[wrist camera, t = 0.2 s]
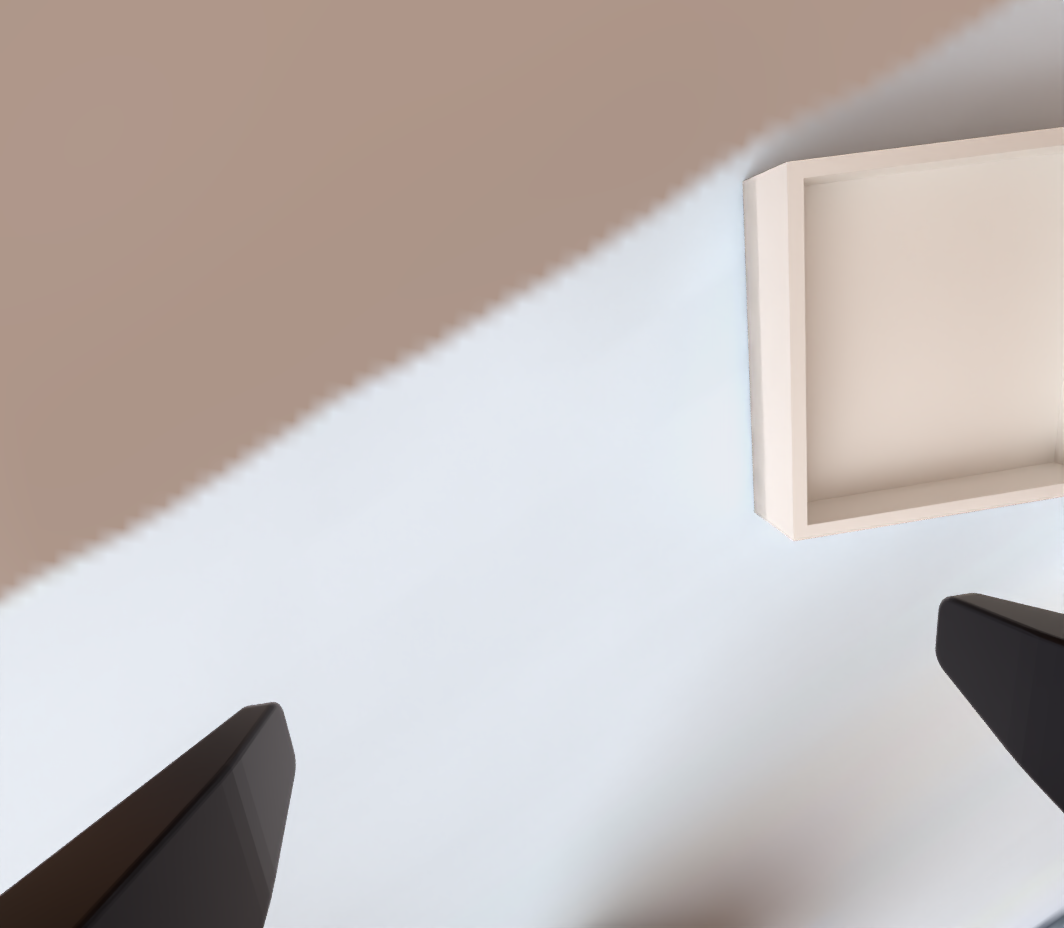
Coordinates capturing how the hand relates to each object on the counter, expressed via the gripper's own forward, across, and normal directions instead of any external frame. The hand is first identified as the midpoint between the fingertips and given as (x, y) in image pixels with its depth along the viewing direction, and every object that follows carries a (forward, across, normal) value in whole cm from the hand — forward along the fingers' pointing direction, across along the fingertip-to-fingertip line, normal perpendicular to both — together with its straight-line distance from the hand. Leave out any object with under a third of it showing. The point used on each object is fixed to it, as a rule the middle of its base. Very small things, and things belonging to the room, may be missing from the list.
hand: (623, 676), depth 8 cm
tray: (+15, -14, -2) cm, 21 cm away
